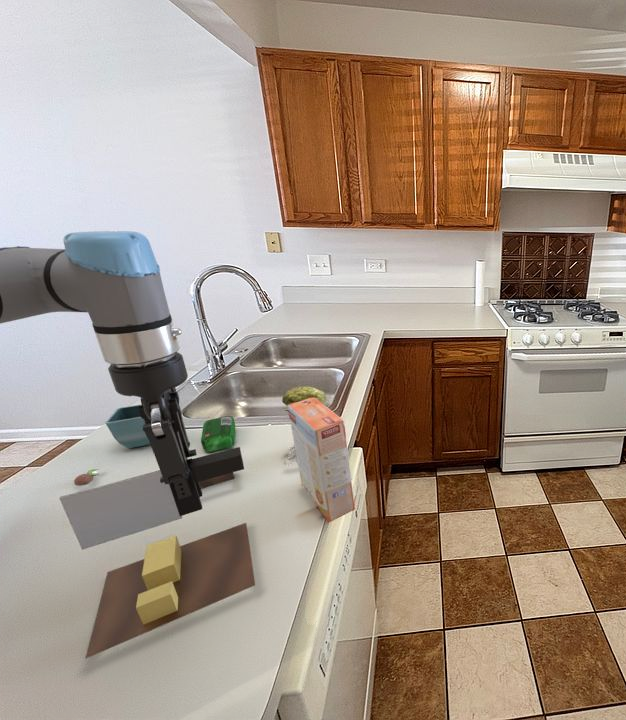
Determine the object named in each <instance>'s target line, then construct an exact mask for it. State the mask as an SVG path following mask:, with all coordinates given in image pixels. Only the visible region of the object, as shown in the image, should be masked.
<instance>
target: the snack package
mask: <svg viewBox="0 0 626 720" xmlns="http://www.w3.org/2000/svg"><path fill="white" fill-rule="evenodd" d="M200 443H201V446H202V449H203V451H204V452H206V453H212V452H217V451H223V450H229V449H232V447H234V446H235V444H236V421H235V418H234V416H231V415H226V416H221V417H217V418H211V419H207V420H206V421H205V422H203V425H202V430H201V437H200Z"/></svg>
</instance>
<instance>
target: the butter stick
mask: <svg viewBox="0 0 626 720" xmlns="http://www.w3.org/2000/svg"><path fill="white" fill-rule="evenodd" d="M180 546H181V545H180V542H179V540H178V537H177V535H173V536H170V537H167V538H164V539H161V540H158V541H155V542H152V543H150V544H147V545H146V546H145V554H144V558H143V559H144V565H143V572H142V578H143V580H144V583H145V585H146V587H147V590H151V589H153V588H156V587H159V586H161V585H164V584H166V583H169V582H171V581H172V582H173V583H174V582H176V581H179V580H180V569H181V548H180Z"/></svg>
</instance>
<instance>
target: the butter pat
mask: <svg viewBox="0 0 626 720" xmlns="http://www.w3.org/2000/svg"><path fill="white" fill-rule="evenodd" d="M136 609H137V611H138V614H139V616H140V618H141V621H142V623H143V625H144V624H147V623H149V622H152V621H154V620H156V619H159V618H161V617H163V616H166V615H168V614H171V613H173V612H175V611H177V610H178V596H177V593H176V590H175V588H174V585H173V582H172V581H171V582H169V583H166V584H164V585H161V586H159V587H156V588H153V589H151V590H148V591H146V592H143V593H140V594H138V599H137V605H136Z"/></svg>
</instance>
